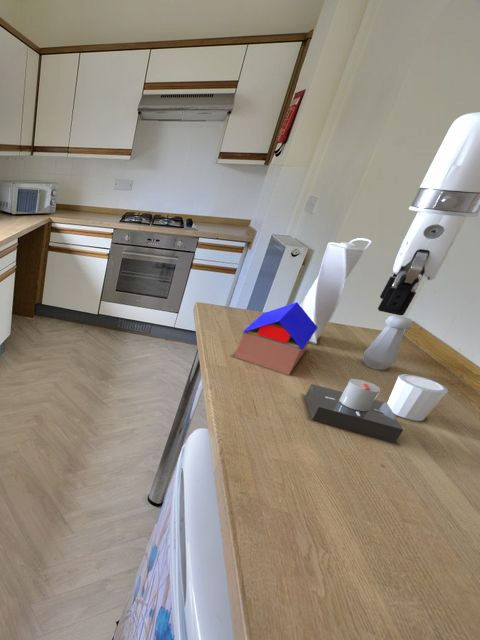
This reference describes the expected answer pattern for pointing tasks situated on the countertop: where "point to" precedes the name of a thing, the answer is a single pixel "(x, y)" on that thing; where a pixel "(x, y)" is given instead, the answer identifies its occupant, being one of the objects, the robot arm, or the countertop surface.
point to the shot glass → (415, 396)
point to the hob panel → (353, 414)
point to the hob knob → (359, 395)
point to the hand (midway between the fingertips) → (390, 306)
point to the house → (277, 338)
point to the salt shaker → (387, 343)
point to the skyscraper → (330, 283)
